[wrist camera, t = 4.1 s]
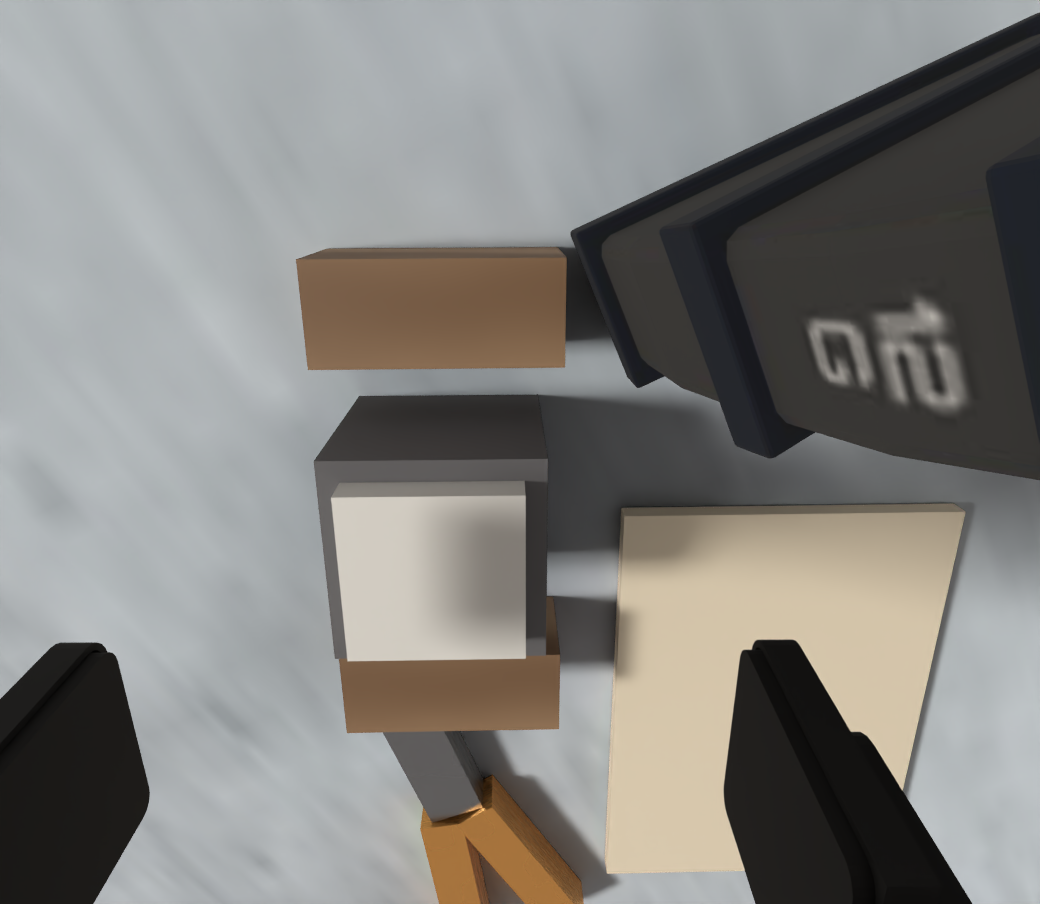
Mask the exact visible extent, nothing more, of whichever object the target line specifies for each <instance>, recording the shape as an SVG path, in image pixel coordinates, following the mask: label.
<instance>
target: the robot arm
mask: <svg viewBox="0 0 1040 904" xmlns="http://www.w3.org/2000/svg"><path fill="white" fill-rule="evenodd" d="M149 794H150V792H149V786H148V782H147V777H146V773H145V769H144V765H143V761H142V757H141V753H140V749H139V745H138V741H137V737H136V733H135V729H134V725H133V721H132V717H131V713H130V709H129V705H128V701H127V697H126V693H125V689H124V685H123V681H122V677H121V673H120V668H119V664H118V661H117V658H116V656H115V655H114V654H113V653H110V652H107V651H106V648H105V647H104V646H103V645H102V644H100V643H59V644H55V645H54V646H53V647H51V648H50V649H49V650H48V651H47V652H46V653H45V654H44V655H43V656H42V657H41V658H40V659H39V660H38V661H37V662H36V663H35V664H34V665H33V666H32V667H31V668H30V669H29V670H28V671H27V673H26V674H25V675H24V676H23V677H22V678H21V679H20V680H19V681H18V682H17V683H16V684H15V685H14V686H13V687H12V688H11V689H10V690H9V691H8V692H7V693H6V694H5V695H4V696H3V697H2V698H1V699H0V904H93V903H94V902H95V900H96V898H97V896H98V895H99V893H100V891H101V890H102V888H103V886H104V884H105V883H106V881H107V879H108V877H109V876H110V874H111V872H112V871H113V869H114V867H115V865H116V864H117V862H118V860H119V859H120V857H121V855H122V853H123V852H124V850H125V848H126V847H127V845H128V843H129V841H130V840H131V838H132V836H133V834H134V833H135V831H136V829H137V828H138V826H139V824H140V822H141V821H142V819H143V817H144V815H145V813H146V810H147V807H148V803H149ZM724 803H725V809H726V813H727V816H728V820H729V823H730V826H731V829H732V832H733V835H734V838H735V841H736V844H737V848H738V851H739V854H740V857H741V860H742V863H743V866H744V869H745V872H746V875H747V879H748V882H749V885H750V888H751V891H752V894H753V897H754V900H755V903H756V904H972V902H971V901H970V899H969V898H968V896H967V894H966V893H965V891H964V890H963V888H962V886H961V885H960V883H959V881H958V880H957V878H956V877H955V875H954V873H953V872H952V870H951V868H950V867H949V865H948V864H947V862H946V860H945V859H944V857H943V856H942V854H941V852H940V851H939V849H938V847H937V846H936V844H935V843H934V841H933V839H932V838H931V836H930V834H929V833H928V831H927V830H926V828H925V826H924V825H923V823H922V822H921V820H920V818H919V817H918V815H917V813H916V812H915V810H914V809H913V807H912V805H911V804H910V802H909V800H908V799H907V797H906V796H905V794H904V792H903V791H902V789H901V788H900V786H899V784H898V783H897V781H896V779H895V778H894V776H893V775H892V773H891V771H890V770H889V768H888V766H887V765H886V763H885V762H884V760H883V758H882V757H881V755H880V754H879V752H878V750H877V749H876V747H875V745H874V744H873V743H872V741H871V740H870V739H869V738H868V736H867V735H865V734H863V733H862V732H851V731H850V729H849V728H848V726H847V724H846V723H845V721H844V719H843V718H842V716H841V714H840V713H839V711H838V709H837V707H836V706H835V704H834V702H833V701H832V699H831V697H830V696H829V694H828V692H827V691H826V689H825V687H824V685H823V684H822V682H821V680H820V679H819V677H818V675H817V674H816V672H815V670H814V669H813V667H812V665H811V663H810V662H809V660H808V658H807V657H806V655H805V653H804V652H803V650H802V648H801V646H800V645H799V644H798V642H797V641H795V640H756V641H755V642H754V644H753V646H752V650H743V651H742V652H741V655H740V661H739V668H738V676H737V684H736V692H735V700H734V708H733V716H732V724H731V732H730V740H729V748H728V756H727V763H726V771H725V779H724Z"/></svg>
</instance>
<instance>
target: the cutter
mask: <svg viewBox="0 0 1040 904" xmlns="http://www.w3.org/2000/svg"><path fill="white" fill-rule="evenodd" d="M383 734H384V735H385V737H386V739H387V741H388V743H389V745H390V746H391V748H392V750H393V752H394V754H395V756H396V757H397V759H398V761H399V763H400V765H401V767H402V768H403V770H404V772H405V774H406V776H407V778H408V780H409V781H410V783H411V785H412V787H413V789H414V791H415V792H416V794H417V796H418V798H419V800H420V802H421V803H422V805H423V813H422V821H421V828H420V830H421V833H422V837H423V841H424V845H425V849H426V853H427V857H428V861H429V865H430V869H431V873H432V877H433V881H434V885H435V889H436V892H437V896H438V900H439V904H489V899H488V895H487V890H486V886H485V881H484V877H483V872H482V868H481V863H480V858H479V854H478V851H479V852H480V853H481V854H482V855H483V857H484V858H485V859H486V860H487V861H488V862H489V863H490V865H491V866H492V867H493V868H494V869H495V870H496V871H497V872H498V874H499V875H500V876H501V877H502V878H503V879H504V880H505V882H506V883H507V884H508V885H509V886H510V887H511V888H512V889H513V891H514V892H515V893H516V894H517V895H518V896H519V897H520V899H521V900H522V901H523V902H524V903H525V904H584V903H583V894H582V885H581V881H580V880H579V878H578V877H577V876H576V875H575V874H574V872H573V871H572V870H571V869H570V868H569V866H568V865H567V864H566V863H565V862H564V860H563V859H562V858H561V857H560V856H559V854H558V853H557V852H556V851H555V850H554V848H553V847H552V846H551V845H550V844H549V842H548V841H547V840H546V839H545V837H544V836H543V835H542V834H541V833H540V831H539V830H538V829H537V828H536V827H535V825H534V824H533V823H532V822H531V821H530V819H529V818H528V817H527V816H526V815H525V813H524V812H523V811H522V810H521V809H520V807H519V806H518V805H517V804H516V803H515V801H514V800H513V799H512V798H511V797H510V795H509V794H508V793H507V792H506V791H505V789H504V788H503V787H502V786H501V785H500V783H499V782H498V781H497V780H496V778H495V777H494V776H493V775H491V776H489V777H487V778H485V779H483V777H482V775H481V773H480V771H479V769H478V767H477V765H476V763H475V761H474V759H473V757H472V755H471V753H470V751H469V749H468V747H467V745H466V743H465V741H464V739H463V737H462V735H461V733H460V731H424V732H383Z"/></svg>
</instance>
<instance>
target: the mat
mask: <svg viewBox="0 0 1040 904" xmlns="http://www.w3.org/2000/svg"><path fill="white" fill-rule="evenodd" d="M965 513H966V512H965V511H964V510H962V509H961V508H959V507H958V506H957V505H955V504H954V503H949V504H872V505H795V506H718V507H641V508H621V525H620V547H619V568H618V589H617V610H616V632H615V653H614V674H613V695H612V716H611V738H610V759H609V780H608V801H607V823H606V844H605V864H606V870H607V874H615V873H661V872H707V871H745V869H744V866H743V863H742V860H741V857H740V854H739V851H738V848H737V844H736V841H735V838H734V835H733V832H732V829H731V826H730V823H729V820H728V816H727V813H726V809H725V803H724V779H725V771H726V763H727V756H728V748H729V740H730V732H731V724H732V716H733V708H734V700H735V692H736V684H737V676H738V668H739V661H740V655H741V652H742V651H743V650H752V646H753V644H754V642H755V641H756V640H795V641H797V642H798V644H799V645H800V646H801V648H802V650H803V652H804V653H805V655H806V657H807V658H808V660H809V662H810V663H811V665H812V667H813V669H814V670H815V672H816V674H817V675H818V677H819V679H820V680H821V682H822V684H823V685H824V687H825V689H826V691H827V692H828V694H829V696H830V697H831V699H832V701H833V702H834V704H835V706H836V707H837V709H838V711H839V713H840V714H841V716H842V718H843V719H844V721H845V723H846V724H847V726H848V728H849V729H850V731H851V732H862V733H863V734H865V735H867V736H868V738H869V739H870V740H871V741H872V743H873V744H874V745H875V747H876V749H877V750H878V752H879V754H880V755H881V757H882V758H883V760H884V762H885V763H886V765H887V766H888V768H889V770H890V771H891V773H892V775H893V776H894V778H895V779H896V781H897V783H898V784H899V786H900V788H901V789H902V791H903V787H904V783H905V778H906V774H907V769H908V765H909V760H910V756H911V752H912V747H913V743H914V738H915V734H916V729H917V725H918V721H919V716H920V712H921V707H922V703H923V698H924V694H925V690H926V685H927V681H928V676H929V672H930V667H931V663H932V659H933V654H934V650H935V645H936V641H937V636H938V632H939V628H940V623H941V619H942V614H943V610H944V605H945V601H946V597H947V592H948V588H949V583H950V579H951V574H952V570H953V566H954V561H955V557H956V552H957V548H958V544H959V539H960V535H961V530H962V526H963V521H964V517H965Z"/></svg>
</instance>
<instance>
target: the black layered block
mask: <svg viewBox="0 0 1040 904" xmlns="http://www.w3.org/2000/svg"><path fill="white" fill-rule="evenodd" d="M571 237H572V240H573V242H574V245H575V247H576V250H577V252H578V255H579V257H580V260H581V262H582V265H583V267H584V270H585V272H586V275H587V277H588V280H589V282H590V285H591V287H592V290H593V292H594V295H595V297H596V300H597V302H598V305H599V307H600V310H601V312H602V315H603V317H604V320H605V322H606V325H607V327H608V330H609V332H610V335H611V337H612V340H613V342H614V345H615V347H616V350H617V352H618V355H619V357H620V360H621V362H622V365H623V367H624V370H625V372H626V375H627V377H628V378H629V379H630V380H631V382H632V383H633V384H634V385H635V386H636V387H637V388H640V387H643V386H645V385H647V384H649V383H651V382H653V381H655V380H657V379H660V378H662V377H664V376H665V377H667V378H668V379H670V380H671V381H673V382H674V383H676V384H677V385H679V386H680V387H682V388H684V389H686V390H689V391H692V392H695V393H697V394H700V395H703V396H706V397H708V398H711V399H714V400H717V401H719V402H720V404H721V407H722V410H723V413H724V416H725V418H726V421H727V424H728V427H729V429H730V432H731V435H732V438H733V441H734V443H735V445H736V446H738V447H740V448H743V449H746V450H748V451H751V452H753V453H756V454H759V455H761V456H764V457H767V458H774V457H776V456H778V455H779V454H781V453H782V452H784V451H786V450H787V449H789V448H791V447H792V446H794V445H795V444H797V443H799V442H800V441H802V440H803V439H805V438H807V437H808V436H810V435H812V434H813V433H815V432H817V433H821V434H824V435H827V436H830V437H834V438H837V439H840V440H844V441H847V442H850V443H853V444H857V445H860V446H863V447H867V448H870V449H873V450H877V451H880V452H883V453H886V454H890V455H893V456H899V457H905V458H911V459H917V460H923V461H929V462H935V463H941V464H947V465H953V466H959V467H965V468H971V469H977V470H983V471H989V472H995V473H1001V474H1007V475H1013V476H1019V477H1025V478H1031V479H1036V480H1040V13H1037V14H1035V15H1033V16H1030V17H1028V18H1026V19H1024V20H1022V21H1020V22H1018V23H1015V24H1013V25H1011V26H1009V27H1007V28H1005V29H1003V30H1000V31H998V32H996V33H994V34H992V35H990V36H988V37H985V38H983V39H981V40H979V41H977V42H975V43H973V44H970V45H968V46H966V47H964V48H962V49H960V50H958V51H955V52H953V53H951V54H949V55H947V56H945V57H943V58H940V59H938V60H936V61H934V62H932V63H930V64H928V65H925V66H923V67H921V68H919V69H917V70H915V71H913V72H910V73H908V74H906V75H904V76H902V77H900V78H898V79H895V80H893V81H891V82H889V83H887V84H885V85H883V86H880V87H878V88H876V89H874V90H872V91H870V92H868V93H865V94H863V95H861V96H859V97H857V98H855V99H853V100H850V101H848V102H846V103H844V104H842V105H840V106H838V107H835V108H833V109H831V110H829V111H827V112H825V113H823V114H820V115H818V116H816V117H814V118H812V119H810V120H808V121H805V122H803V123H801V124H799V125H797V126H795V127H793V128H790V129H788V130H786V131H784V132H782V133H780V134H778V135H775V136H773V137H771V138H769V139H767V140H765V141H763V142H760V143H758V144H756V145H754V146H752V147H750V148H748V149H745V150H743V151H741V152H739V153H737V154H735V155H733V156H730V157H728V158H726V159H724V160H722V161H720V162H718V163H715V164H713V165H711V166H709V167H707V168H705V169H702V170H700V171H698V172H696V173H694V174H692V175H690V176H687V177H685V178H683V179H681V180H679V181H677V182H675V183H672V184H670V185H668V186H666V187H664V188H662V189H660V190H657V191H655V192H653V193H651V194H649V195H647V196H645V197H642V198H640V199H638V200H636V201H634V202H632V203H630V204H627V205H625V206H623V207H621V208H619V209H617V210H615V211H612V212H610V213H608V214H606V215H604V216H602V217H600V218H597V219H595V220H593V221H591V222H589V223H587V224H585V225H582V226H580V227H578V228H576V229H574V230H572V231H571Z"/></svg>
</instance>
